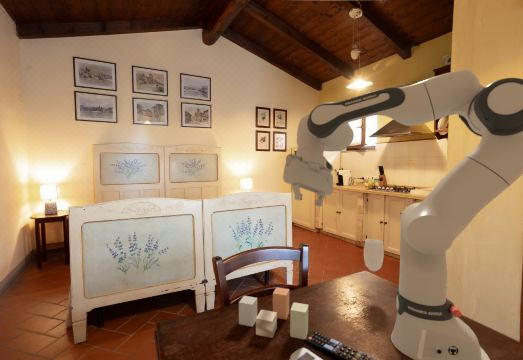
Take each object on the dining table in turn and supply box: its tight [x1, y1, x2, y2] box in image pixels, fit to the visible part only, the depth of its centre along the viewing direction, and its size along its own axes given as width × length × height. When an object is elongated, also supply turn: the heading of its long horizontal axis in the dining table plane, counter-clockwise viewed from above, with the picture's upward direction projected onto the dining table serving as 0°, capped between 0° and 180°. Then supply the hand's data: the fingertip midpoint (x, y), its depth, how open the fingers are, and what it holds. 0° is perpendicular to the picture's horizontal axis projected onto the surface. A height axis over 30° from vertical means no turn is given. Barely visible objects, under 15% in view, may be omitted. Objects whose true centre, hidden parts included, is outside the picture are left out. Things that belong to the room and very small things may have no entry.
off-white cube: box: [255, 309, 278, 339], centre depth 81 cm, size 5×5×5 cm
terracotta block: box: [272, 287, 290, 320], centre depth 90 cm, size 4×4×8 cm
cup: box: [363, 238, 385, 272], centre depth 104 cm, size 7×7×21 cm
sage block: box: [289, 302, 309, 340], centre depth 80 cm, size 4×4×8 cm
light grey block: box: [238, 295, 258, 327], centre depth 86 cm, size 4×4×7 cm
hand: (308, 203), depth 84 cm, fingers open, 8 cm apart
